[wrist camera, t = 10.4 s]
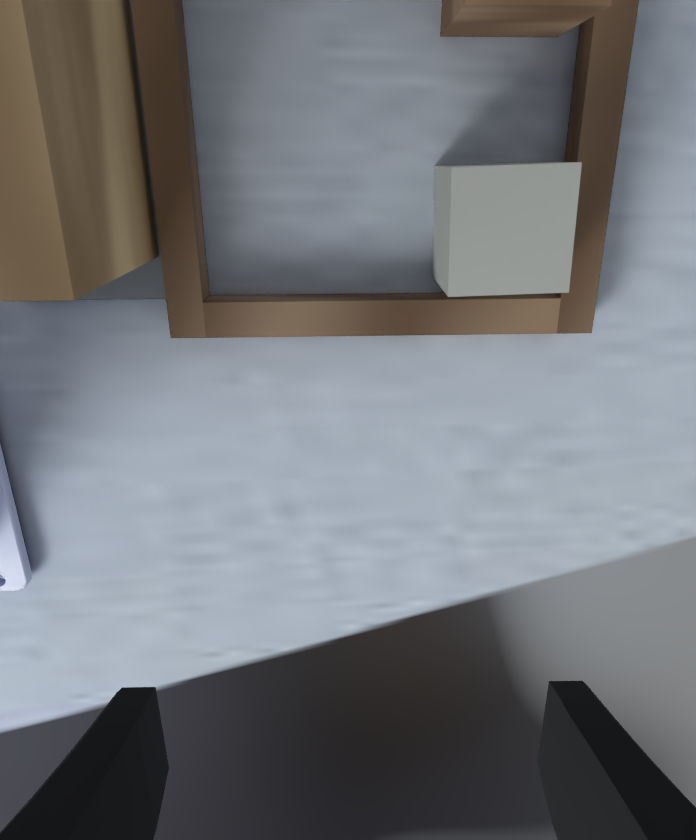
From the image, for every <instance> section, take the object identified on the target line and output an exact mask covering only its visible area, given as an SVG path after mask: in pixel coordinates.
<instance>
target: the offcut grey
mask: <svg viewBox="0 0 696 840" xmlns="http://www.w3.org/2000/svg"><path fill="white" fill-rule="evenodd" d="M581 167H582V162H525V163H499V164H472V165H445V166H434V227H433V278H434V279H435V280H436V282H437V283H438V284H439V286H440V287H441V288H442V290H443V291H444V292H445V293H446V295H447V296H448V297H462V296H489V295H517V294H544V293H569V286H570V277H571V267H572V257H573V247H574V237H575V227H576V217H577V207H578V197H579V187H580V177H581Z"/></svg>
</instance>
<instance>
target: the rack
mask: <svg viewBox="0 0 696 840" xmlns="http://www.w3.org/2000/svg"><path fill="white" fill-rule="evenodd" d="M638 1H639V0H612V3H611V6H610V7H608V8H606V9H605V10H603V11H601V12H600V13H598V14H596V15H595V16H593V17H591V18H589V19H588V20H586V21H584V22H583V23H581V24H580V28H579V37H578V46H577V55H576V64H575V73H574V82H573V90H572V99H571V108H570V117H569V126H568V135H567V144H566V153H565V161H564V162H582V167H581V177H580V187H579V197H578V207H577V217H576V227H575V237H574V247H573V257H572V267H571V277H570V286H569V293H544V294H517V295H489V296H462V297H448V296H447V295H446V293H387V294H301V295H214V296H210V295H209V284H208V274H207V263H206V252H205V242H204V231H203V220H202V210H201V199H200V188H199V178H198V167H197V156H196V146H195V135H194V124H193V114H192V103H191V92H190V82H189V71H188V60H187V50H186V39H185V28H184V18H183V7H182V0H130V3H131V11H132V19H133V28H134V36H135V44H136V53H137V61H138V69H139V78H140V86H141V94H142V103H143V111H144V119H145V127H146V136H147V144H148V152H149V161H150V169H151V177H152V186H153V194H154V202H155V211H156V219H157V227H158V236H159V244H160V252H161V260H162V269H163V277H164V285H165V294H166V302H167V310H168V319H169V327H170V335H171V338H216V337H300V336H384V335H468V334H552V333H592V327H593V320H594V313H595V306H596V298H597V291H598V284H599V277H600V270H601V263H602V256H603V249H604V242H605V235H606V228H607V221H608V214H609V206H610V199H611V192H612V185H613V178H614V171H615V164H616V157H617V150H618V143H619V136H620V129H621V122H622V115H623V107H624V100H625V93H626V86H627V79H628V72H629V65H630V58H631V51H632V44H633V37H634V30H635V23H636V16H637V8H638Z"/></svg>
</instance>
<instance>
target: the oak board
mask: <svg viewBox="0 0 696 840" xmlns="http://www.w3.org/2000/svg"><path fill="white" fill-rule="evenodd" d="M157 257H159V256H158V248H157V240H156V231H155V223H154V215H153V207H152V198H151V190H150V182H149V174H148V166H147V157H146V149H145V141H144V133H143V124H142V116H141V108H140V100H139V92H138V83H137V75H136V67H135V59H134V51H133V42H132V34H131V26H130V18H129V9H128V1H127V0H0V301H74V300H76V299H78V298H80V297H82V296H84V295H86V294H88V293H90V292H92V291H94V290H95V289H97V288H99V287H101V286H103V285H105V284H107V283H109V282H111V281H113V280H115V279H117V278H119V277H121V276H122V275H124V274H126V273H128V272H130V271H132V270H134V269H136V268H138V267H140V266H142V265H144V264H146V263H147V262H149V261H151V260H153V259H155V258H157Z"/></svg>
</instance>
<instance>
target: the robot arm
mask: <svg viewBox="0 0 696 840" xmlns="http://www.w3.org/2000/svg"><path fill="white" fill-rule="evenodd" d="M0 574H1V575H2V576H4V578H5V579H1V578H0V591H18V590H22V589H24V588H25V587H26V586H27V585H28V583H29V582H30V580H31V578H32V572H31V568H30V564H29V560H28V556H27V552H26V548H25V543H24V539H23V535H22V531H21V527H20V523H19V519H18V515H17V510H16V506H15V502H14V498H13V494H12V490H11V486H10V482H9V477H8V473H7V469H6V465H5V461H4V457H3V453H2V449H1V444H0ZM537 763H538V767H539V771H540V775H541V780H542V784H543V789H544V793H545V797H546V801H547V805H548V809H549V813H550V816H551V821H552V824H553V827H554V830H555V833H556V836H557V839H558V840H696V807H695V806H694V805H693V804H692V803H691V802H690V801H689V800H688V799H687V798H686V797H685V796H684V795H683V794H682V793H681V792H680V790H679V789H678V788H677V787H676V786H675V785H674V784H673V783H672V782H671V781H670V780H669V779H668V777H667V776H666V775H665V774H664V773H663V772H662V771H661V770H660V769H659V768H658V767H657V766H656V765H655V764H654V762H653V761H652V760H651V759H650V758H649V757H648V756H647V755H646V753H645V752H644V751H643V750H642V749H641V748H640V747H639V746H638V744H637V743H636V742H635V741H634V740H633V739H632V738H631V736H630V735H629V734H628V733H627V732H626V731H625V730H624V728H623V727H622V726H621V725H620V724H619V722H618V721H617V720H616V719H615V718H614V717H613V716H612V714H611V713H610V712H609V711H608V710H607V708H606V707H605V706H604V705H603V704H602V703H601V701H600V700H599V699H598V698H597V697H596V695H594V693H593V692H592V691H591V689H590V688H589V687H588V686H587V685H586V684H585V683H584V682H583V681H549V686H548V693H547V699H546V706H545V713H544V721H543V727H542V733H541V741H540V747H539V754H538V761H537ZM168 769H169V766H168V760H167V754H166V748H165V742H164V736H163V730H162V724H161V718H160V712H159V706H158V700H157V694H156V688H155V687H136V688H121V689H120V690H119V691H118V692H117V693H116V694H115V696H114V697H113V698H112V699H111V701H110V702H109V703H108V705H107V706H106V707H105V708H104V710H103V711H102V712H101V714H100V715H99V716H98V717H97V719H96V720H95V721H94V723H93V724H92V725H91V727H90V728H89V729H88V730H87V732H86V733H85V734H84V735H83V736H82V738H81V739H80V740H79V741H78V743H77V744H76V745H75V747H74V748H73V749H72V750H71V751H70V753H69V754H68V755H67V756H66V757H65V759H64V760H63V761H62V762H61V764H60V765H59V766H58V767H57V768H56V769H55V771H54V772H53V773H52V774H51V776H50V777H49V778H48V779H47V780H46V781H45V782H44V784H43V785H42V786H41V787H40V788H39V790H38V791H37V792H36V793H35V794H34V795H33V797H32V798H31V799H30V800H29V801H28V802H27V804H26V805H25V806H24V807H23V808H22V809H21V810H20V811H19V812H18V814H16V816H15V817H14V818H13V819H12V820H11V821H10V822H9V823H8V824H7V825H6V827H5V828H4V829H3V830H2V831H1V832H0V840H153V838H154V835H155V831H156V827H157V823H158V818H159V814H160V809H161V804H162V799H163V794H164V789H165V784H166V779H167V774H168Z"/></svg>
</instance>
